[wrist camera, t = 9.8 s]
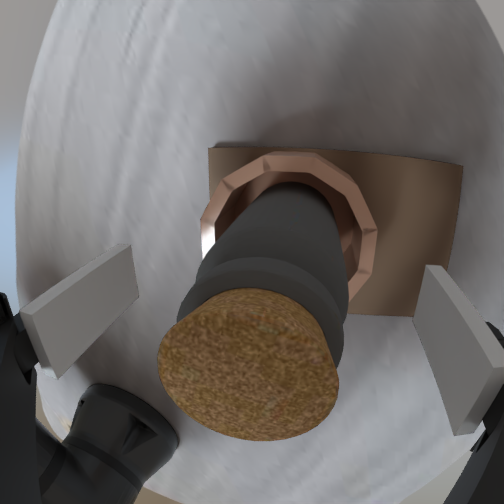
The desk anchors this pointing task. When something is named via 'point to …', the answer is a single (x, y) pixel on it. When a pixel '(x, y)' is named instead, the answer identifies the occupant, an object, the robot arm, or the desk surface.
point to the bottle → (263, 321)
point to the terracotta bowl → (311, 173)
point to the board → (384, 217)
